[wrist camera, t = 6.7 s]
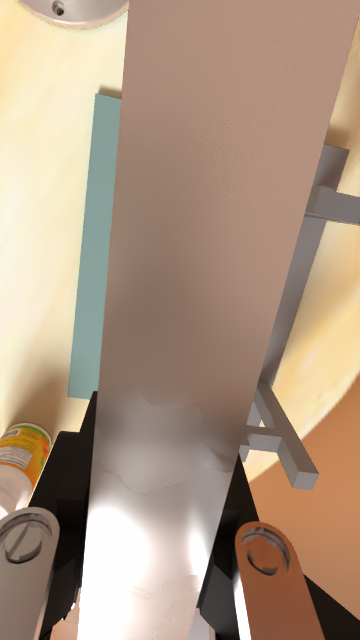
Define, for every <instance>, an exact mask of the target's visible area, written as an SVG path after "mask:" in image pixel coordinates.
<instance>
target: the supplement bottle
mask: <svg viewBox="0 0 360 640" xmlns="http://www.w3.org/2000/svg"><path fill="white" fill-rule="evenodd" d="M51 445H52V443H51V439H50V436H49V435H48V433H47V432H46V431H45V430H44V429H43V428H41V427H39V426H37V425H35V424H31V423H19V424H16V425H13V426H11V427H10V428H9V429H7V430H6V432H5V433H4V434H3V436H2V437H1V439H0V520H1V519H2V518H3V517H5V516H7V515H8V514H10V513H11V512H13V511H16V510H19V509H21V508H22V507H23V506H24V505H25V504H26V503H27V501H28V500H29V498H30V496H31V494H32V492H33V489H34V487H35V485H36V483H37V480H38V478H39V476H40V474H41V471H42V469H43V467H44V464H45V462H46V460H47V457H48V455H49V453H50V450H51Z"/></svg>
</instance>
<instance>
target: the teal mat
mask: <svg viewBox="0 0 360 640" xmlns="http://www.w3.org/2000/svg"><path fill="white" fill-rule="evenodd" d="M120 109H121V99H118V98H114V97H109V96H105V95H101V94H97V93H96V95H95V106H94V116H93V127H92V138H91V149H90V160H89V171H88V181H87V192H86V203H85V214H84V225H83V236H82V246H81V257H80V268H79V279H78V290H77V301H76V311H75V322H74V333H73V344H72V355H71V366H70V376H69V387H68V397H75V398H82V399H91V396H92V393H93V391H98V382H99V370H100V357H101V345H102V333H103V320H104V308H105V295H106V283H107V270H108V258H109V245H110V233H111V221H112V208H113V196H114V183H115V171H116V158H117V146H118V133H119V121H120Z"/></svg>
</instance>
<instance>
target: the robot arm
mask: <svg viewBox="0 0 360 640" xmlns="http://www.w3.org/2000/svg"><path fill="white" fill-rule="evenodd" d="M16 1H17V2H18V3H19V4H20V5H21V6H23V7H24V8H25V9H26V10H27V11H29V12H30V13H31V14H32V15H34V16H36V17H38V18H39V19H41V20H43V21H45V22H47V23H48V24H51V25H55V26H58V27H61V28H64V29H74V30H85V29H92V28H98V27H100V26H102V25H105V24H107V23H110V22H112V21H114V20H115V19H116V18H118V17H119V16H120V15H122V14H123V13H125V12H126V11H127V10H128V9H129V0H16ZM60 11H64V14H62V15H61V16H59V15H58V14H59V12H60ZM97 395H98V391H93V393H92V396H91V399H90V402H89V405H88V408H87V411H86V414H85V417H84V420H83V423H82V426H81V429H80V432H68V431H60V432H59V434H58V436H57V439H56V441H55V443H54V446H53V448H52V450H51V453H50V455H49V458H48V460H47V462H46V465H45V467H44V470H43V472H42V474H41V477H40V479H39V481H38V484H37V486H36V489H35V491H34V493H33V496H32V498H31V501H30V503H29V505H28V508H22V509H19V510H16V511H13V512H11V513H10V514H8V515H7V516H5V517H3V518H2V519H1V520H0V640H53V636H54V631H55V624H56V623H58V622H59V621H60V620H61V619H62V618H63V617H64V616H65V615H66V614H68V613H69V612H70V611H71V609H72V605H73V604H76V601H77V596H78V591H79V588H82V581H83V569H84V557H85V544H86V532H87V519H88V507H89V494H90V482H91V469H92V457H93V445H94V432H95V420H96V407H97ZM196 608H199V609H200V615H201V616H202V617H203V618H204V619H205V620H206V622H207V623H208V624H209V637H210V640H360V620H358V619H357V618H356V617H355V616H354V615H352V614H351V613H350V612H349V611H348V610H346V609H345V608H344V607H343V606H342V605H340V604H339V603H338V602H337V601H336V600H334V599H333V598H332V597H331V596H330V595H328V594H327V593H326V592H325V591H324V590H322V589H321V588H320V587H319V586H317V585H316V584H315V583H314V582H313V581H311V580H310V579H309V578H308V577H307V576H305V575H304V574H303V572H302V569H301V566H300V563H299V560H298V557H297V554H296V552H295V550H294V547H293V545H292V543H291V542H290V541H289V540H288V538H287V537H286V536H285V535H284V534H283V533H282V532H281V531H280V530H278V529H277V528H275V527H273V526H272V525H269V524H267V523H263V522H260V521H259V518H258V515H257V511H256V508H255V504H254V501H253V498H252V494H251V491H250V488H249V484H248V481H247V477H246V474H245V471H244V467H243V464H242V461H241V457H240V454H239V453H238V457H237V460H236V464H235V467H234V471H233V475H232V478H231V482H230V486H229V489H228V493H227V496H226V500H225V504H224V507H223V511H222V515H221V518H220V522H219V525H218V529H217V533H216V536H215V540H214V544H213V547H212V551H211V555H210V558H209V562H208V565H207V569H206V573H205V576H204V580H203V584H202V587H201V591H200V594H199V598H198V602H197V605H196Z"/></svg>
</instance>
